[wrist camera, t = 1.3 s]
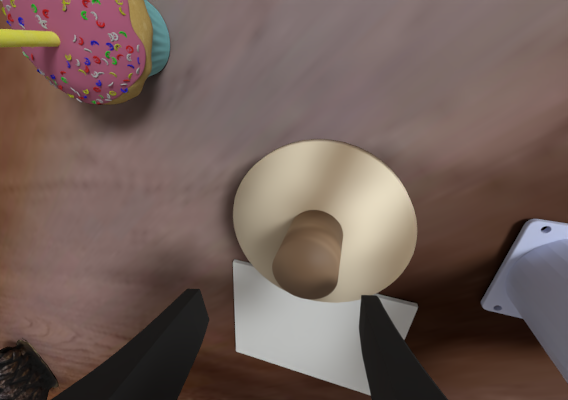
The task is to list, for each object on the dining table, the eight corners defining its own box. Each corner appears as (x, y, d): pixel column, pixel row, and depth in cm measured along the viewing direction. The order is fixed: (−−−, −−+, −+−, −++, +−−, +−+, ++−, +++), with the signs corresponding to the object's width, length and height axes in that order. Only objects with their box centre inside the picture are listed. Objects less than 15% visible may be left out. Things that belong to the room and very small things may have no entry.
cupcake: (215, 44, 17) (-12, -16, 7) (154, 123, 21) (-49, 163, 11) (123, -73, 16) (-341, -378, 5) (77, 35, 20) (-244, -18, 9)
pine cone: (28, 336, 49) (-45, 391, 40) (71, 392, 55) (16, 450, 47) (-4, 328, 52) (-78, 378, 43) (40, 382, 59) (-17, 435, 50)
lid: (441, 152, 13) (480, 186, 9) (387, 309, 19) (396, 378, 14) (237, 128, 16) (191, 145, 12) (240, 272, 21) (209, 320, 17)
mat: (417, 303, 21) (418, 307, 21) (379, 394, 28) (379, 398, 27) (234, 259, 25) (232, 261, 25) (237, 348, 31) (236, 351, 31)
